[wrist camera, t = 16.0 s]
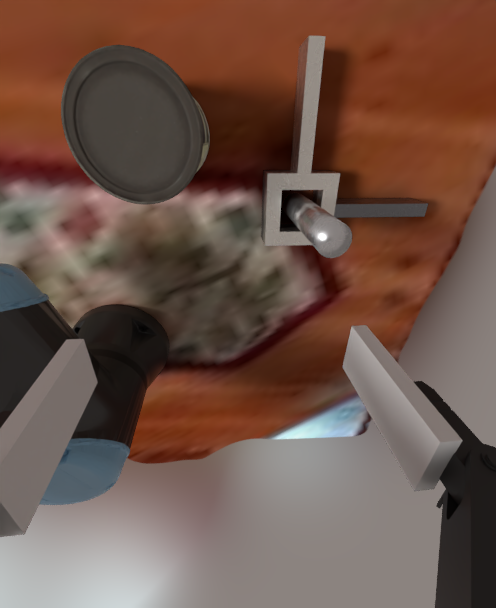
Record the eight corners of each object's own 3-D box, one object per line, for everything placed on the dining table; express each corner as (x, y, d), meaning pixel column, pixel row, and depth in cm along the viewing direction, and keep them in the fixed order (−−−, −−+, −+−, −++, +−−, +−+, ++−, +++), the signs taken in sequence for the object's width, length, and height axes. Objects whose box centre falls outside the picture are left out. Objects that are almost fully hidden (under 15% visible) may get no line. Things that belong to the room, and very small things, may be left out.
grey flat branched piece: (400, 234, 42) (416, 242, 39) (261, 236, 41) (264, 245, 37) (450, 51, 32) (477, 41, 29) (266, 46, 31) (272, 34, 27)
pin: (304, 216, 40) (348, 257, 26) (281, 216, 40) (313, 258, 26) (307, 192, 38) (355, 221, 24) (283, 192, 38) (318, 222, 24)
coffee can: (119, 69, 31) (52, 23, 18) (215, 95, 32) (212, 68, 20) (120, 173, 36) (66, 190, 23) (203, 190, 37) (194, 215, 25)
